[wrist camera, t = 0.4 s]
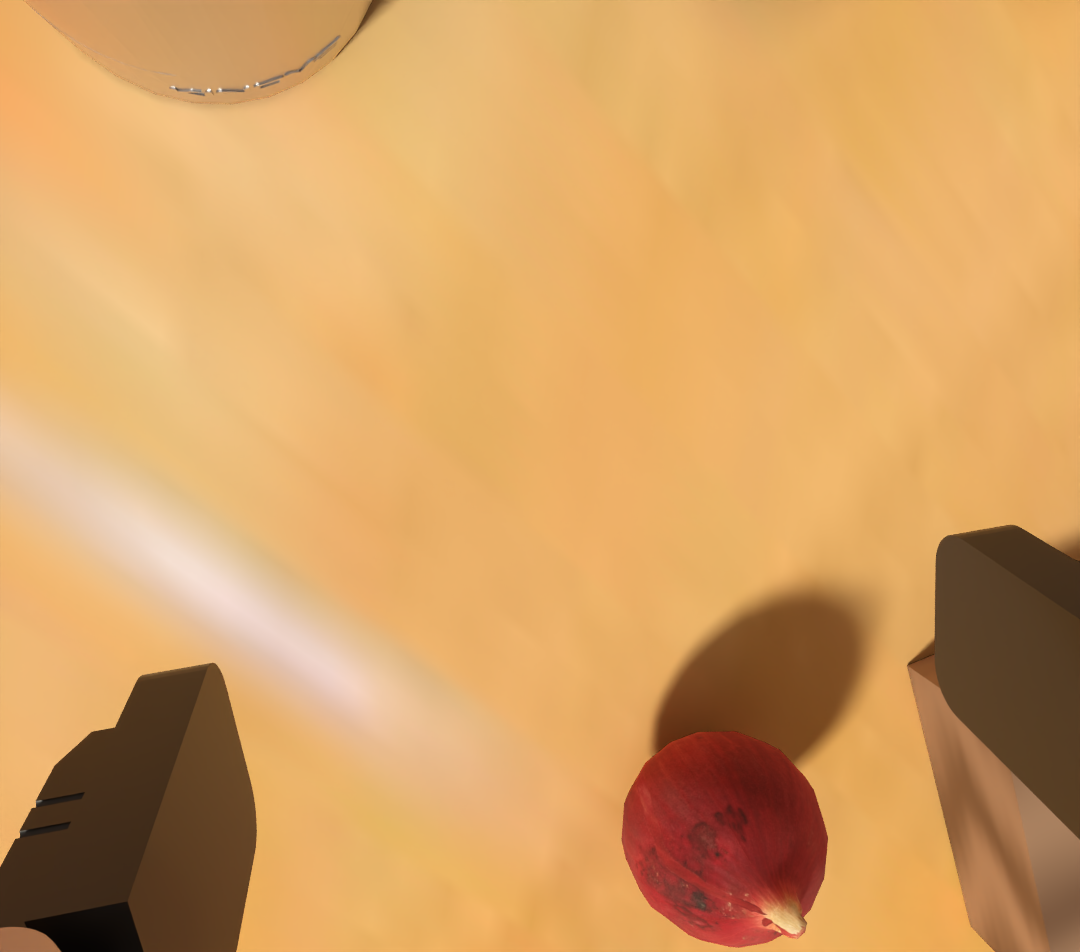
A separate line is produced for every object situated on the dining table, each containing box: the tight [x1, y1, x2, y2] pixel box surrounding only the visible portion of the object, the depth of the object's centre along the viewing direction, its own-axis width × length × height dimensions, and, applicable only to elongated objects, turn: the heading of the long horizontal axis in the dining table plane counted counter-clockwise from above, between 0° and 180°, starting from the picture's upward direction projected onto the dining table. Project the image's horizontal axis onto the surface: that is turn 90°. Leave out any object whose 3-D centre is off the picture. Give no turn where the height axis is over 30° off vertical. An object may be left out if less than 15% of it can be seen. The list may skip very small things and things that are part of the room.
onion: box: [622, 731, 828, 948], centre depth 29 cm, size 6×6×8 cm
